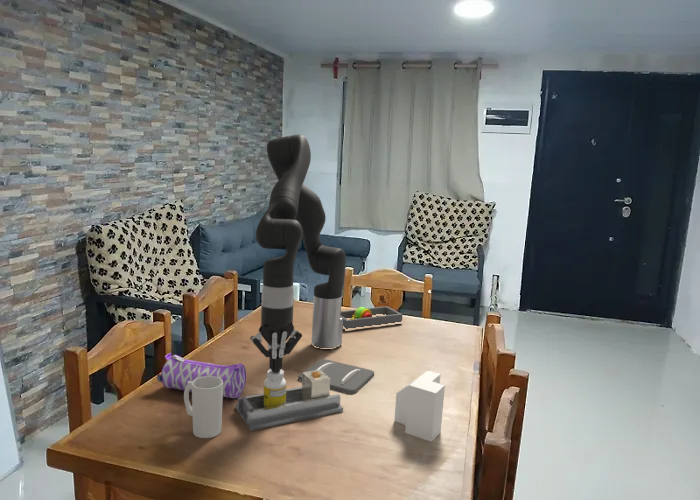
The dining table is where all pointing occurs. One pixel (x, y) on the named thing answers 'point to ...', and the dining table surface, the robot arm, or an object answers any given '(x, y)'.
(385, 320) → the gray rectangular tray
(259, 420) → the rail tray
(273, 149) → the robot arm
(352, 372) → the grey flat block
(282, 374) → the supplement bottle
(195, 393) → the mug
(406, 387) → the white notched block
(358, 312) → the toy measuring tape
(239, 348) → the dining table surface
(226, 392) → the pencil case
